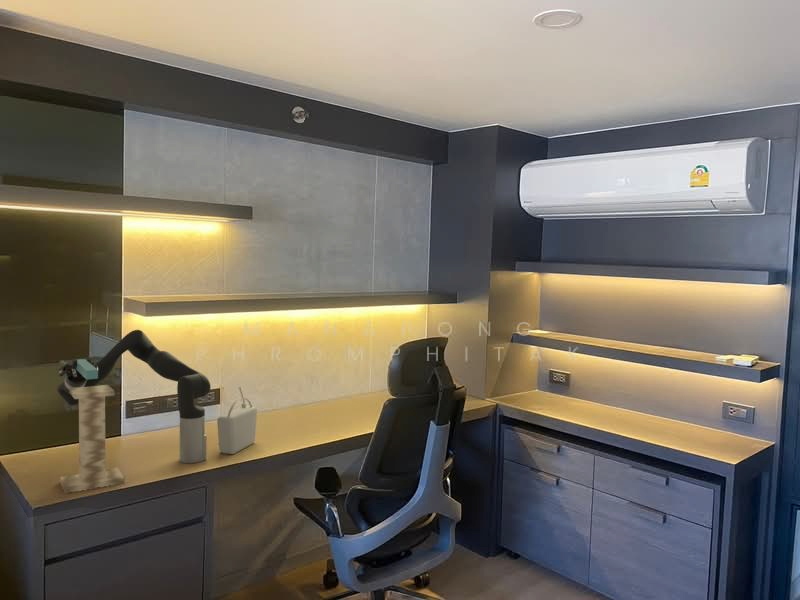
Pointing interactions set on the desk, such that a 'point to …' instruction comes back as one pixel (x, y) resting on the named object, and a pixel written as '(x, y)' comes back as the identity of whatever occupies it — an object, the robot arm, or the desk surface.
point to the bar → (86, 369)
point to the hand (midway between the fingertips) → (82, 362)
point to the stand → (91, 442)
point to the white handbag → (237, 428)
